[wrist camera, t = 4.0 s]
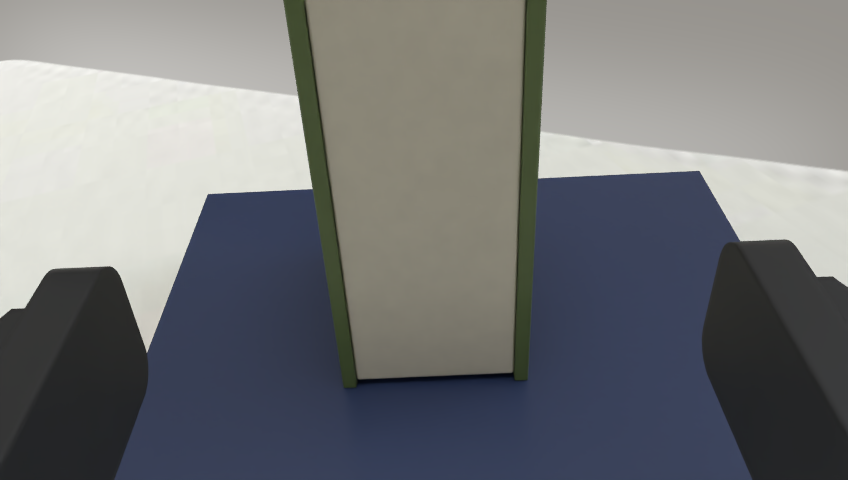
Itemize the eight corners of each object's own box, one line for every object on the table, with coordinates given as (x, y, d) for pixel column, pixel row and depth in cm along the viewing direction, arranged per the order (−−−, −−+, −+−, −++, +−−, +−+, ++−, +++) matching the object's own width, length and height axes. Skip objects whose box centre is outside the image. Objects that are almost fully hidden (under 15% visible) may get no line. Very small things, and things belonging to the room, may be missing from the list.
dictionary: (504, 238, 28) (511, -116, 21) (528, 380, 23) (548, -38, 15) (356, 245, 28) (313, -106, 21) (343, 388, 23) (279, -25, 15)
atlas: (687, 230, 33) (699, 170, 31) (848, 553, 21) (882, 485, 19) (222, 252, 33) (207, 193, 32) (116, 582, 21) (83, 518, 19)
